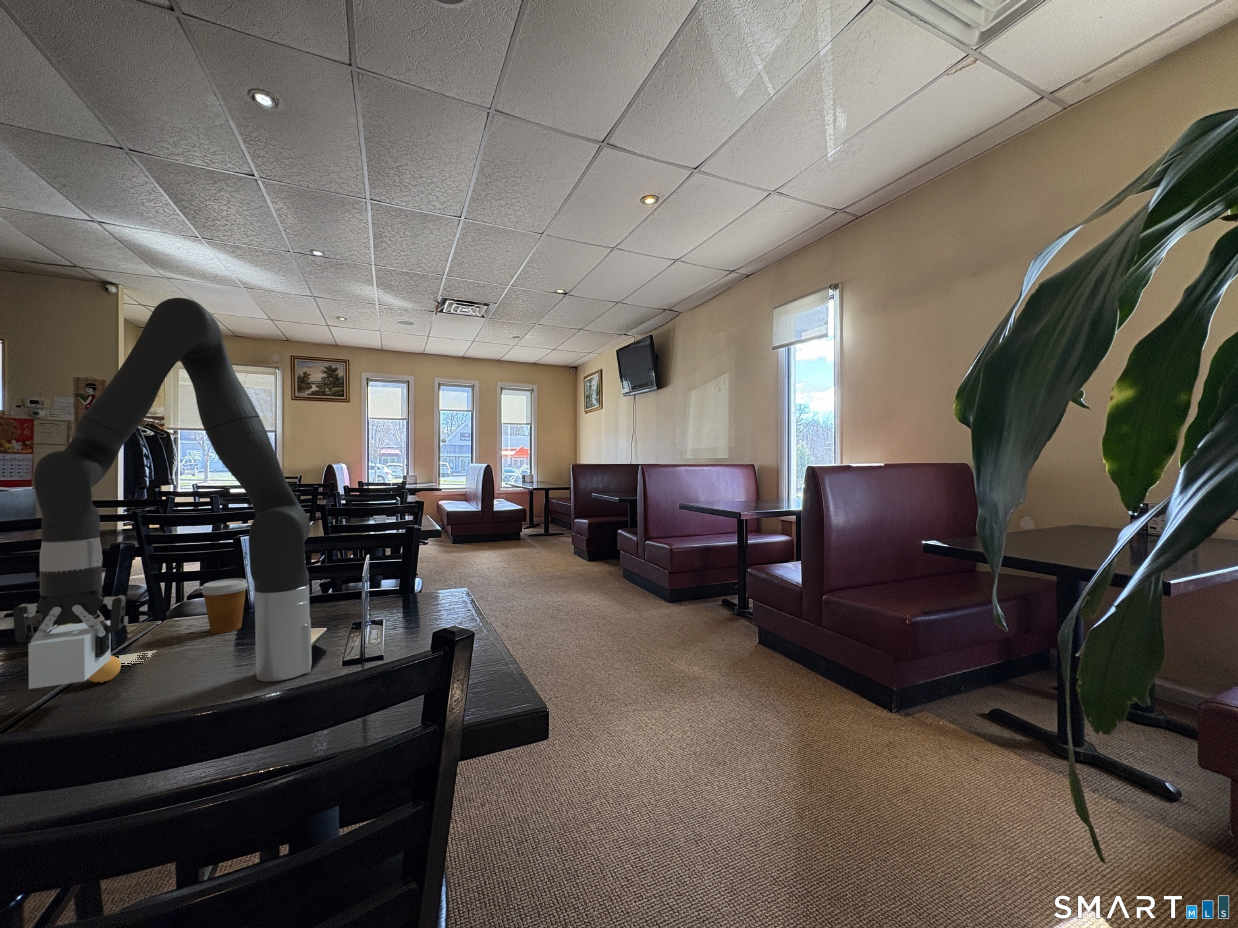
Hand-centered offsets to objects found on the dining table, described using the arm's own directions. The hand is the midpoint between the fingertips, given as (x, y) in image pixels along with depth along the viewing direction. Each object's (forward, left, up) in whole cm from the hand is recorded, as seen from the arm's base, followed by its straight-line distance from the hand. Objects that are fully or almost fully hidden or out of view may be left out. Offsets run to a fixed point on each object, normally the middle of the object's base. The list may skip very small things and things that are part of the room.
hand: (72, 659), depth 92 cm
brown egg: (0, -12, -6) cm, 13 cm away
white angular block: (0, 0, -2) cm, 2 cm away
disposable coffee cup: (-15, -39, -9) cm, 43 cm away
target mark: (0, -24, -8) cm, 25 cm away
